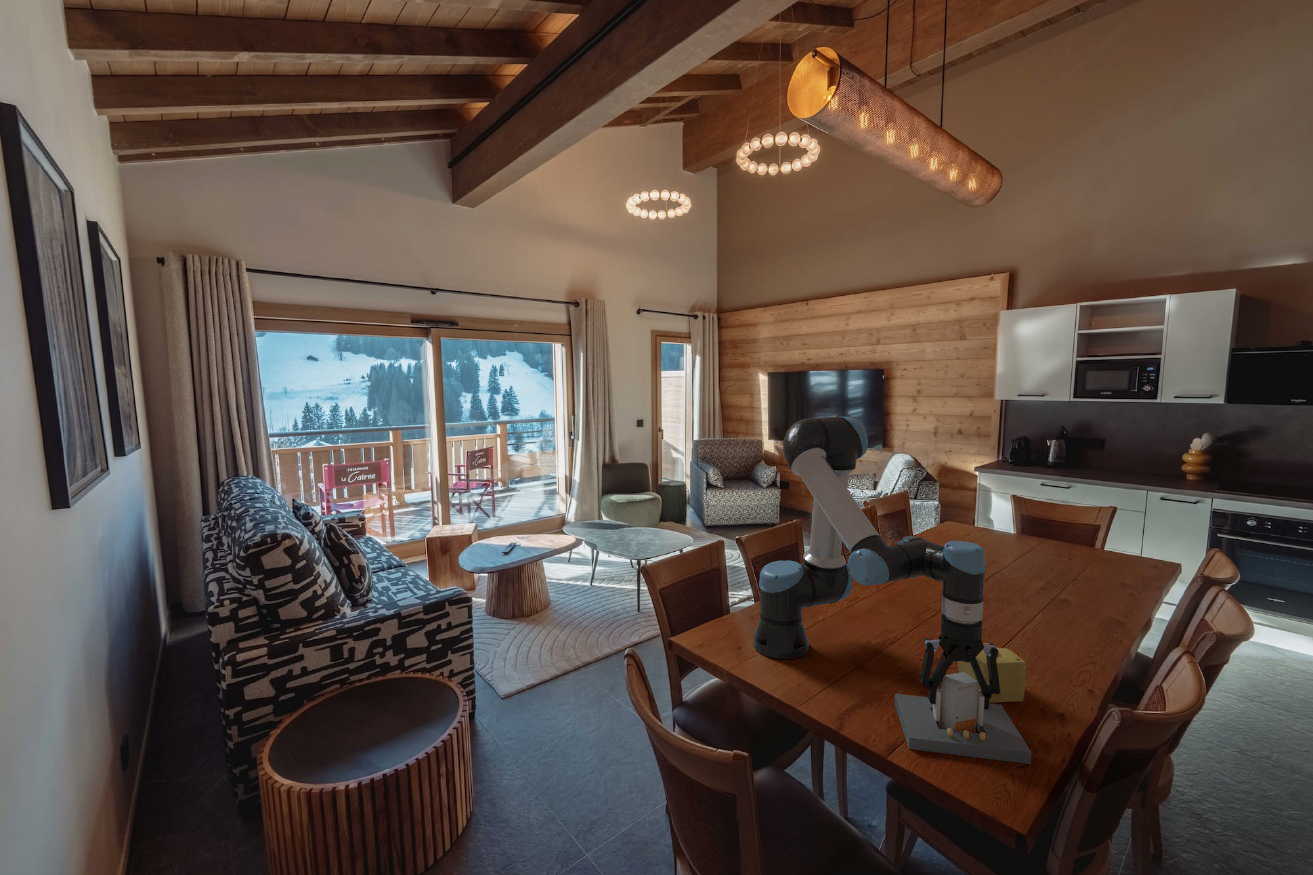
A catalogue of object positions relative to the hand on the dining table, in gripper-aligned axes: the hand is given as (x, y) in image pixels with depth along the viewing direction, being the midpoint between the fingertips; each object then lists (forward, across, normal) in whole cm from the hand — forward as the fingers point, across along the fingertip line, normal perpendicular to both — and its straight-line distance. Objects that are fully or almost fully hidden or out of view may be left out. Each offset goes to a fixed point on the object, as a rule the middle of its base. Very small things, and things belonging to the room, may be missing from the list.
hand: (957, 719), depth 119 cm
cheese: (+3, +12, +18) cm, 22 cm away
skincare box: (+3, 0, 0) cm, 3 cm away
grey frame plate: (+3, 0, 0) cm, 3 cm away
